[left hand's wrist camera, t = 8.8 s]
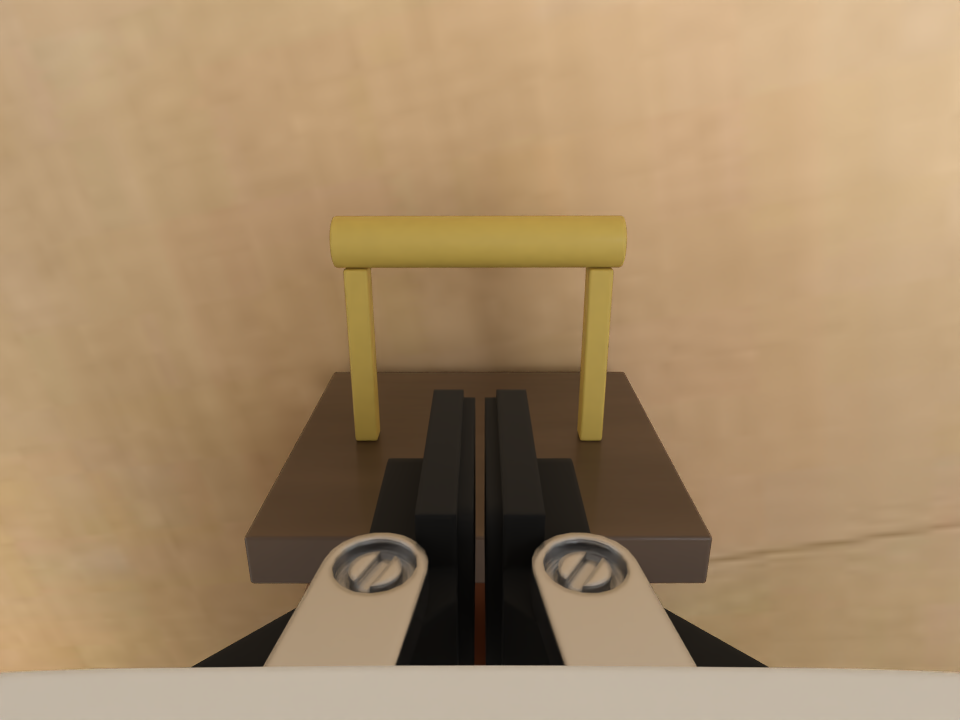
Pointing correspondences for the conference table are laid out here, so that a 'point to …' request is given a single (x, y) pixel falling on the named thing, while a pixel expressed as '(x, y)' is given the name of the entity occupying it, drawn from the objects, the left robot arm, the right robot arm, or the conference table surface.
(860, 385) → the conference table surface
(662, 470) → the drawer
